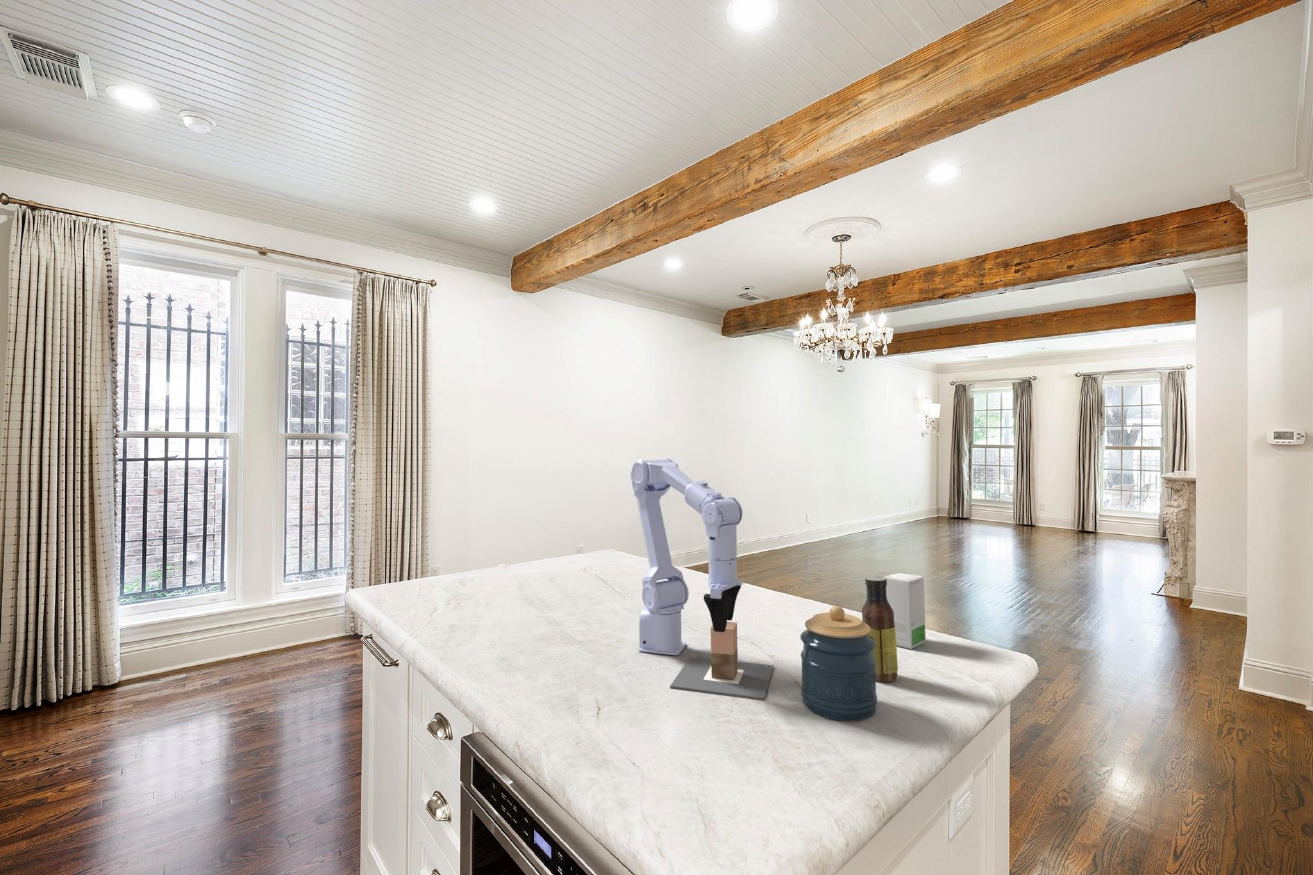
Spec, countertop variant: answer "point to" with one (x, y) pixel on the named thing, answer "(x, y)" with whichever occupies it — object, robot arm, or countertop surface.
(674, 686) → the grey mat
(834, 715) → the canister
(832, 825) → the countertop surface
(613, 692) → the countertop surface
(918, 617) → the skincare box
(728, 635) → the terracotta block
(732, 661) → the walnut block
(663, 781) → the countertop surface
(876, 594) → the sauce bottle
